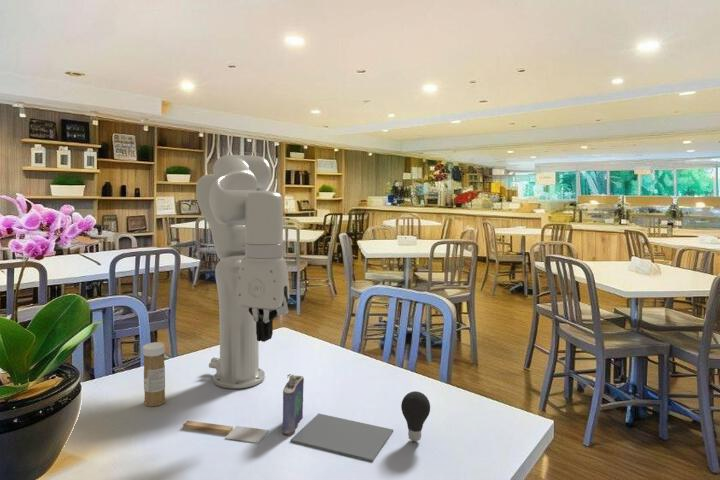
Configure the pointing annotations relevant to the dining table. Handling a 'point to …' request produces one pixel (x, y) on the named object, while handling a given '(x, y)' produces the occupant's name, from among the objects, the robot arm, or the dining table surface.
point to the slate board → (343, 436)
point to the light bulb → (415, 413)
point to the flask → (292, 404)
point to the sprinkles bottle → (154, 373)
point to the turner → (229, 431)
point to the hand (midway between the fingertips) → (264, 339)
